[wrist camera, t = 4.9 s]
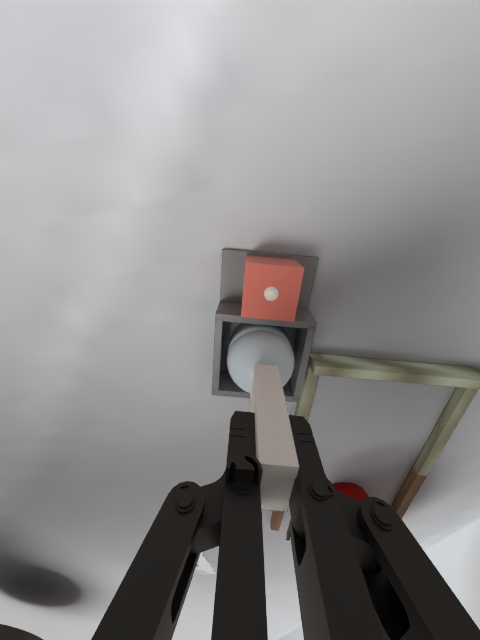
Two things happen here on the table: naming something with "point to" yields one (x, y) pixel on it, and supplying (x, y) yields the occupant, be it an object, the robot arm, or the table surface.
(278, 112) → the table surface
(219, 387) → the dome housing
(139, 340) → the table surface
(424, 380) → the u-shaped frame
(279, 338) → the dome
